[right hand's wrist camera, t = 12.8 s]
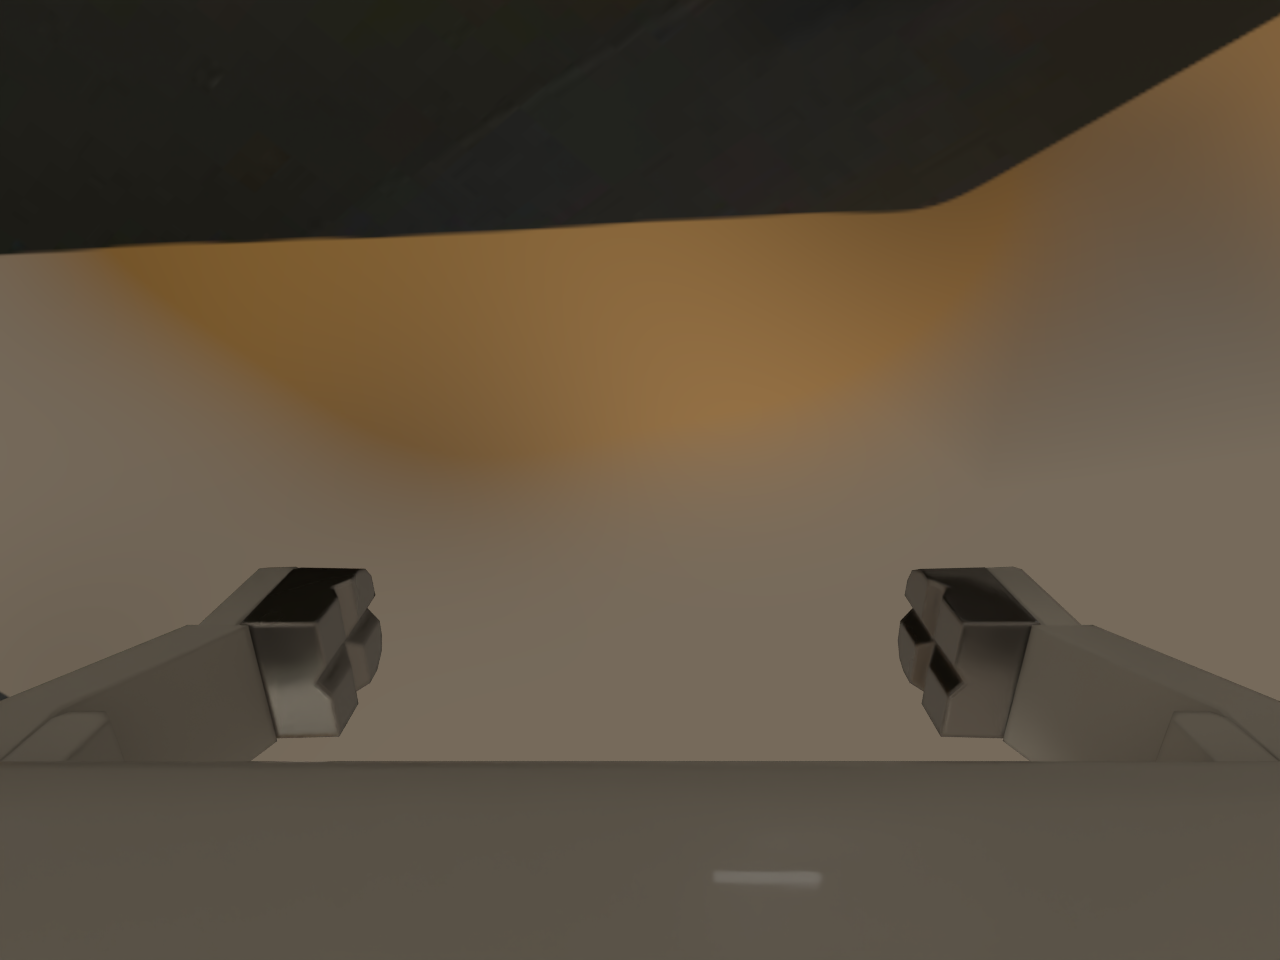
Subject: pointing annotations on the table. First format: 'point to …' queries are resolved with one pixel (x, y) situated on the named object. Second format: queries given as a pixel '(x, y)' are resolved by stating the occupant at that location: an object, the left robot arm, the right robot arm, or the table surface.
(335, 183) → the table surface
